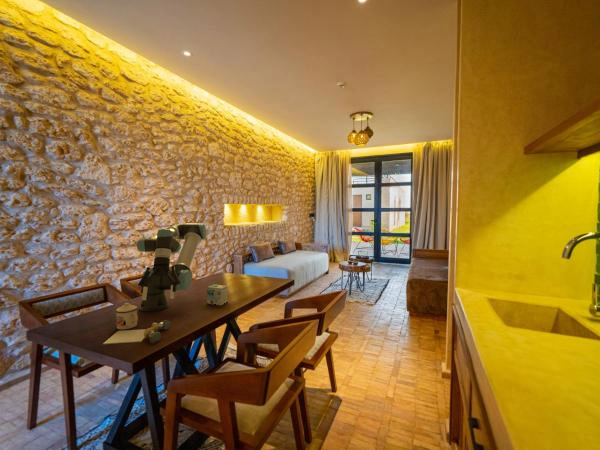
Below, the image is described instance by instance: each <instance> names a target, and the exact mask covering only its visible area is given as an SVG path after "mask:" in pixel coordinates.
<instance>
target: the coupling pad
mask: <svg viewBox="0 0 600 450" xmlns="http://www.w3.org/2000/svg"><path fill="white" fill-rule="evenodd" d="M146 329H147V328H146ZM146 329H145V328H144V329H130V330H129V329H124V330H118V331H116V332H115V333H114V334H113V335H112V336H110V337H109V338H108V339H107V340H105V342H103V343H102V344H103V345H113V344H128V343H141V342H143V340H144V339H146V338H145V337H144V331H145V330H146Z"/></svg>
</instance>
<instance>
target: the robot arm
mask: <svg viewBox="0 0 600 450" xmlns="http://www.w3.org/2000/svg"><path fill="white" fill-rule="evenodd" d="M206 239H207V227H206V225H205V224H204V223H202V222H201V223H200V222H198V223H197V222H196V223H194V222H186V223H185V222H182V223H177V224H174V225H171V226H169V227H167V228H161V229H158V231H157V234H155V235H153V236H151V237H148V238H140V239H138V240H137V242H136V249H137V250H138V252H141V253H154V259H153V267H149V266H147V267H146V270H145V271H143V273H142V277H141V278H140V280H139V282H138V284H137V286H140V287H141V290H140V291H141V293H140V294H142V295H141V301H140V304H139V310H140V311H141V312H157V311H161V310H164V309H167V308H168V307H169V300H168V298H167V295H166V291H170V294H169V299H172V300H174V296H175V293H176V291H185V290H188V289H189V288H190V286H191V285H192V282H193V272H192V270H191V268H190V267H191V265H192V263H193V261H194V260H193V259H194V256H195V254H196V250H197V248H198V245H199V244H201V242H202V240H203V241H204V240H206ZM179 240H184V241H183V245H182V244H181V243H180V242H179ZM179 252H180V253H179ZM177 253H179V255H178V257H177V260H176V262H175V264H173V265H172V266H170V264H171V256H172V255H171V254H177Z"/></svg>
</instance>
